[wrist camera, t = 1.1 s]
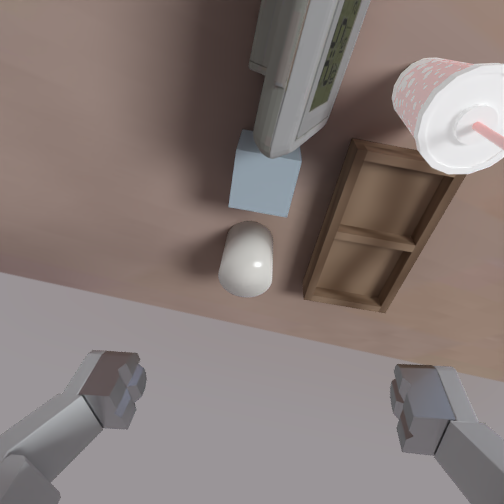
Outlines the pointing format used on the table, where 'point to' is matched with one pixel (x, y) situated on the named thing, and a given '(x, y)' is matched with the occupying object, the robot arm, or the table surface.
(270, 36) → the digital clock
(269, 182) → the blue cube
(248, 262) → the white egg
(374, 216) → the organiser base
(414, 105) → the beverage cup
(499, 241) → the table surface
